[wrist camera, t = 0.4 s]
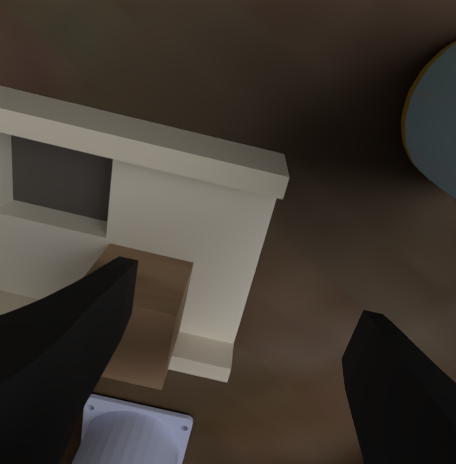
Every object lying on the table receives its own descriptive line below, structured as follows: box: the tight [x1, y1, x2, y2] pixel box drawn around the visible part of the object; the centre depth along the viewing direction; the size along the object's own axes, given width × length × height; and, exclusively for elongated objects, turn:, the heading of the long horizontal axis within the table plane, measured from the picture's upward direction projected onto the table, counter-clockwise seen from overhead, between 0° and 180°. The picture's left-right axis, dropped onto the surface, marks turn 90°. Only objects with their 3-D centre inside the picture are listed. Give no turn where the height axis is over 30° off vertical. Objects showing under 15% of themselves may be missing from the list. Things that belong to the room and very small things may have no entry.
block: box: [84, 243, 194, 390], centre depth 19 cm, size 4×4×4 cm
